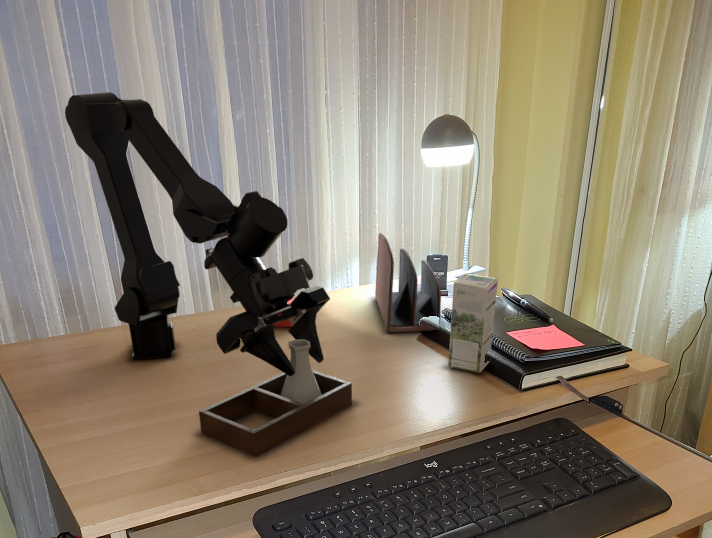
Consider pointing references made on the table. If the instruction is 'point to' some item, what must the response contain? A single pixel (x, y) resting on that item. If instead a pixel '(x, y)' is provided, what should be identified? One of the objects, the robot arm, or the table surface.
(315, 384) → the flask
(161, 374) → the table surface
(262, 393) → the walnut divided tray
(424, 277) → the letter holder
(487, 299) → the syrup box
